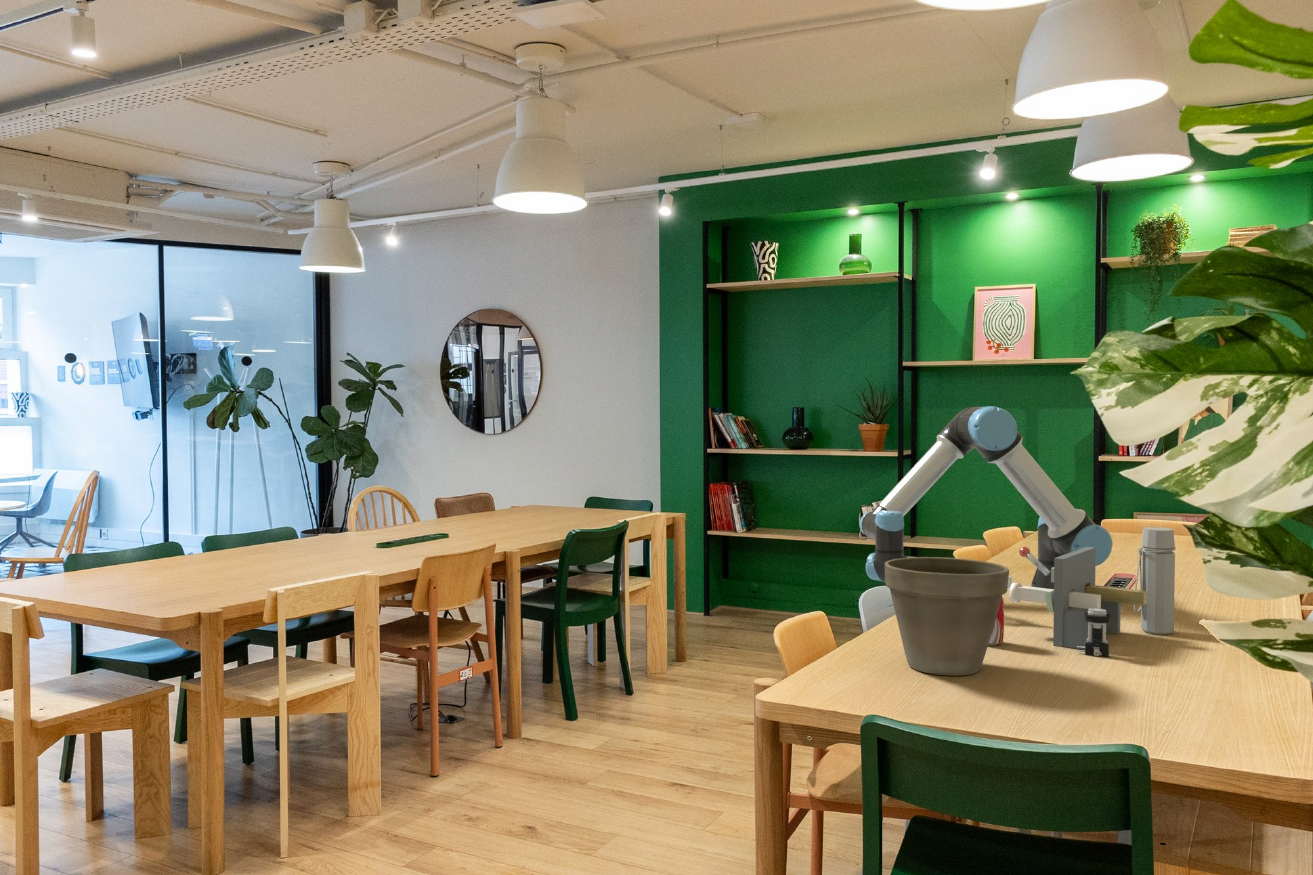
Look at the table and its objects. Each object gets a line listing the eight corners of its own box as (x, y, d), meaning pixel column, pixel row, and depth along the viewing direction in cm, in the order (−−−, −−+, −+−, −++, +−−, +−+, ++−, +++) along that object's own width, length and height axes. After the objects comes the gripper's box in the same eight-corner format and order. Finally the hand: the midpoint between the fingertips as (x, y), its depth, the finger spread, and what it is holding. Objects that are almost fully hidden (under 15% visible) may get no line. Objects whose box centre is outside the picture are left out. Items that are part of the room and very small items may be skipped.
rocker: (1051, 609, 226) (1048, 590, 227) (1057, 609, 226) (1053, 590, 226) (1048, 611, 224) (1044, 592, 225) (1053, 611, 224) (1050, 591, 224)
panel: (1082, 626, 242) (1083, 546, 241) (1120, 632, 236) (1121, 549, 236) (1049, 644, 224) (1050, 557, 223) (1090, 651, 218) (1091, 561, 217)
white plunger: (1015, 599, 237) (1016, 581, 236) (1101, 610, 224) (1101, 591, 224) (1009, 602, 233) (1009, 584, 233) (1095, 613, 221) (1096, 594, 220)
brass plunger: (1061, 595, 241) (1061, 578, 241) (1147, 606, 229) (1148, 587, 228) (1055, 598, 238) (1055, 580, 238) (1142, 609, 225) (1143, 590, 225)
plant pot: (955, 648, 221) (956, 552, 220) (1034, 676, 198) (1035, 569, 197) (860, 658, 212) (861, 558, 211) (932, 689, 189) (932, 577, 188)
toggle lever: (1021, 572, 231) (1021, 545, 230) (1051, 575, 226) (1052, 548, 226) (1017, 573, 229) (1017, 546, 229) (1048, 576, 224) (1048, 549, 224)
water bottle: (1166, 628, 240) (1167, 527, 239) (1180, 636, 232) (1181, 531, 231) (1127, 627, 241) (1128, 526, 240) (1139, 635, 233) (1141, 530, 232)
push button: (1076, 655, 214) (1077, 610, 213) (1077, 650, 219) (1077, 605, 218) (1110, 659, 211) (1110, 613, 211) (1109, 653, 216) (1110, 608, 216)
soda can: (1006, 647, 221) (1006, 594, 221) (973, 645, 223) (973, 593, 222) (1001, 640, 228) (1001, 589, 228) (969, 638, 230) (970, 587, 229)
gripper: (932, 582, 267) (1019, 593, 252) (911, 589, 257) (1000, 600, 242) (932, 555, 267) (1019, 564, 252) (911, 561, 257) (1001, 570, 242)
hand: (1010, 582), depth 247 cm, fingers closed
